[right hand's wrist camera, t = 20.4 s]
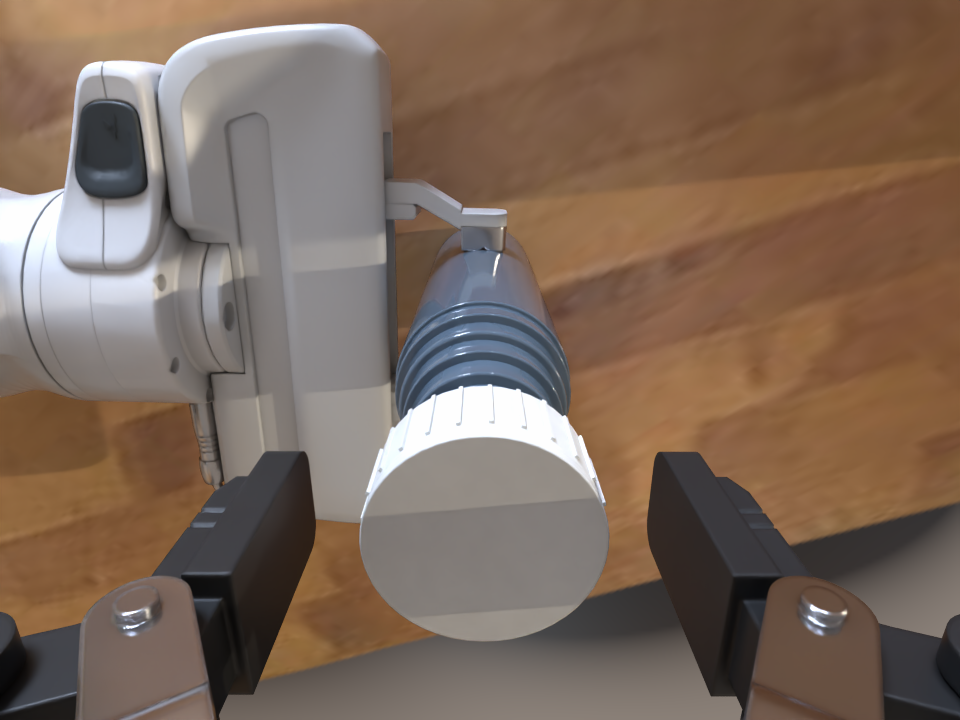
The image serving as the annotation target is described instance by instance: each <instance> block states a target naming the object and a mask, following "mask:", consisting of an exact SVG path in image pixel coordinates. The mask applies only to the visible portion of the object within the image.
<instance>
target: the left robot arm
mask: <svg viewBox="0 0 960 720" xmlns="http://www.w3.org/2000/svg"><path fill="white" fill-rule="evenodd" d="M421 207H422V208H424V209H426V210H427V211H429V212H431V213H432V214H434V215H436V216H438V217H439V218H441V219H443V220H444V221H446V222H448V223H449V224H451V225H453V226H454V227H456V228H458V229H459V230H460V229H461V251H477V250H480V249H482V248H483V247H484V248H485V249H487V250H488V251H494V252H497V251H505V245H506V229H507V211H506V210H502V209H487V208H462V204H460V203H459V202H457V201H456V200H454V199H452V198H451V197H449V196H448V195H446V194H444V193H443V192H441V191H440V190H438V189H437V188H435V187H433V186H432V185H430V184H429V183H427V182H425V181H424V180H422V179H405V178H394V169H393V130H392V92H391V64H390V60H389V58H388V56H387V55H386V53H385V52H384V51H383V50H382V49H381V47H380V46H379V45H378V44H377V43H376V42H375V41H374V40H373V39H372V38H371V37H370V36H369V35H368V34H366V33H365V32H364V31H362V30H361V29H359V28H356V27H354V26H350V25H344V24H296V25H281V26H270V27H260V28H252V29H245V30H238V31H231V32H225V33H220V34H215V35H210V36H206V37H203V38H200V39H197V40H195V41H192V42H190V43H188V44H186V45H185V46H183V47H182V48H180V49H179V50H178V51H176V52H175V53H174V54H173V55H172V57H171V58H170V59H169V60H168V62H167V63H166V65H160V64H155V63H148V62H138V61H105V62H95V63H91V64H89V65H87V66H86V67H84V69H83V70H82V71H81V73H80V76H79V78H78V82H77V87H76V94H75V104H74V116H73V126H72V137H71V146H70V154H69V162H68V169H67V176H66V182H65V188H64V189H59V190H55V191H52V192H48V193H44V194H38V195H26V194H20V193H17V192H14V191H11V190H8V189H4V188H1V187H0V397H6V396H11V395H15V394H19V393H23V392H27V391H32V390H45V391H49V392H53V393H56V394H59V395H62V396H65V397H68V398H72V399H78V400H87V401H119V402H165V403H189V407H190V412H191V418H192V424H193V429H194V433H195V436H196V439H197V442H198V446H199V451H200V457H199V466H200V471H201V475H202V477H203V480H204V482H205V483H206V484H208V485H213V487H214V489H215V491H216V490H217V489H219V488H220V487H222V486H223V484H222V482H223V481H224V482H225V484H226V483H227V482H229V481H230V480H232V479H233V478H235V477H236V476H248V475H249V474H250V472H251V471H252V469H253V468H254V466H255V465H256V463H257V462H258V461H259V459H260V458H261V456H262V455H263V453H264V452H266V451H305V452H306V454H307V456H308V460H309V466H310V475H311V483H312V491H313V500H314V508H315V517H316V519H318V520H326V521H336V522H346V523H361V521H360V519H361V515H362V511H363V508H364V505H365V502H366V499H367V496H366V495H365V494H366V491H367V488H368V485H369V481H370V478H371V475H372V472H373V469H374V466H375V463H376V460H377V457H378V453H379V450H380V449H384V446H385V444H386V442H387V439H388V436H389V433H390V430H391V428H392V427H394V428H395V427H396V426H397V425H398V423H399V422H400V418H399V416H398V412H397V407H396V401H395V386H396V381H395V380H396V369H397V365H398V322H397V284H396V245H395V220H413V219H414V218H415V217H416V216H417V215H418V214H419V213H420V211H421Z"/></svg>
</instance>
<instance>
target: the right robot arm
mask: <svg viewBox="0 0 960 720" xmlns="http://www.w3.org/2000/svg"><path fill="white" fill-rule="evenodd" d="M315 531H316V517H315V508H314V500H313V491H312V483H311V475H310V466H309V460H308V456H307V454H306V452H305V451H266V452H264V453H263V455H262V456H261V458H260V459H259V461H258V462H257V463H256V465H255V466H254V468H253V469H252V471H251V472H250V474H249V475H248V476H236V477H235V478H233V479H232V480H230V481H229V482H227V483H226V484H225V485H223V486H222V487H220V488H219V489H217V490H216V491H214V493H213V494H212V496H211V497H210V498H209V500H208V501H207V502H206V504H205V505H204V506H203V508H202V509H201V513H198V514H197V516H196V517H195V518H194V520H193V521H192V522H191V524H190V528H187V529H186V530H185V532H184V533H183V534H182V536H181V537H180V538H179V540H178V541H177V542H176V544H175V545H174V546H173V548H172V549H171V550H170V552H169V553H168V554H167V556H166V557H165V558H164V560H163V561H162V562H161V564H160V565H159V566H158V568H157V569H156V570H155V572H154V573H153V574H152V576H151V577H146V578H142V579H138V580H135V581H132V582H130V583H127V584H125V585H123V586H120V587H118V588H116V589H115V590H113V591H111V592H109V593H108V594H107V595H105V596H104V597H102V598H101V599H100V600H99V601H97V602H96V603H95V604H94V605H93V606H92V607H91V608H90V609H89V611H88V612H87V614H86V615H85V616H84V618H83V621H82V623H80V624H76V625H72V626H68V627H63V628H59V629H54V630H50V631H46V632H41V633H37V634H33V635H28V636H24V637H20V634H19V632H18V629H17V626H16V623H15V621H14V619H13V618H12V617H11V616H10V615H8V614H6V613H3V612H0V720H220V718H219V713H220V711H221V709H222V707H223V705H224V702H225V700H226V698H227V696H228V694H236V695H237V694H239V695H241V694H246V695H248V694H249V695H250V694H254V691H255V689H256V687H257V684H258V682H259V679H260V677H261V674H262V672H263V669H264V667H265V664H266V662H267V659H268V657H269V655H270V652H271V650H272V647H273V645H274V642H275V640H276V637H277V635H278V632H279V630H280V627H281V625H282V623H283V620H284V618H285V615H286V613H287V610H288V608H289V605H290V603H291V600H292V598H293V595H294V593H295V591H296V588H297V586H298V583H299V581H300V578H301V576H302V573H303V571H304V568H305V566H306V563H307V561H308V559H309V556H310V554H311V551H312V548H313V544H314V539H315ZM647 533H648V541H649V546H650V549H651V552H652V555H653V557H654V559H655V562H656V564H657V567H658V569H659V572H660V574H661V576H662V579H663V581H664V584H665V586H666V589H667V591H668V593H669V596H670V598H671V601H672V603H673V605H674V608H675V610H676V613H677V615H678V618H679V620H680V622H681V625H682V627H683V630H684V632H685V635H686V637H687V639H688V642H689V644H690V647H691V649H692V652H693V654H694V656H695V659H696V661H697V664H698V666H699V668H700V671H701V673H702V676H703V678H704V681H705V683H706V685H707V688H708V690H709V693H710V695H711V696H737V699H738V701H739V703H740V705H741V707H742V714H741V719H740V720H960V615H957V616H954V617H953V618H951V619H950V620H949V622H948V623H947V626H946V629H945V632H944V634H943V637H942V638H938V637H934V636H929V635H925V634H920V633H916V632H912V631H907V630H903V629H899V628H894V627H890V626H887V625H883V624H879V623H878V621H877V619H876V616H875V615H874V614H873V612H872V611H871V610H870V608H869V607H868V606H867V605H866V604H865V603H864V602H863V601H861V600H860V599H859V598H858V597H856V596H855V595H853V594H852V593H851V592H849V591H847V590H845V589H844V588H842V587H840V586H837V585H835V584H833V583H830V582H828V581H825V580H821V579H818V578H814V577H813V576H812V575H811V574H810V572H809V571H808V570H807V568H806V567H805V566H804V564H803V563H802V562H801V560H800V559H799V558H798V556H797V555H796V554H795V553H794V551H793V550H792V549H791V547H790V546H789V545H788V543H787V542H786V541H785V539H784V538H783V537H782V535H781V534H780V533H779V531H778V530H777V529H774V525H773V523H772V522H771V521H770V519H769V518H768V517H767V515H766V514H763V512H762V509H761V508H760V506H759V505H758V504H757V502H756V501H755V500H754V498H753V497H752V496H751V494H750V493H749V492H748V491H746V490H745V489H743V488H742V487H741V486H739V485H738V484H736V483H735V482H733V481H732V480H730V479H729V478H727V477H715V475H714V474H713V472H712V471H711V469H710V468H709V467H708V465H707V464H706V462H705V461H704V459H703V458H702V456H701V455H700V454H699V453H698V452H658V453H657V455H656V457H655V461H654V467H653V476H652V484H651V492H650V500H649V509H648V517H647Z"/></svg>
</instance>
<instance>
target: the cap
mask: <svg viewBox="0 0 960 720" xmlns="http://www.w3.org/2000/svg"><path fill="white" fill-rule="evenodd" d="M365 495H366V496H367V499H366V502H365V505H364V508H363V511H362V515H361V519H360V521H361V525H360V542H359V543H360V550H361V557H362V560H363V563H364V567H365V570H366V572H367V574H368V576H369V578H370V581H371V583H372V584H373V586H374V587H375V589H376V590H377V592H378V593H379V594H380V596H381V597H382V598H383V599H384V600H385V601H386V602H387V604H388V605H390V606H391V607H392V608H393V609H394V610H395V611H396V612H397V613H399V614H400V615H402V616H403V617H404V618H406V619H407V620H409V621H410V622H412V623H414V624H416V625H418V626H420V627H421V628H423V629H426V630H428V631H431V632H433V633H436V634H439V635H443V636H446V637H450V638H455V639H461V640H467V641H500V640H508V639H514V638H518V637H522V636H526V635H529V634H532V633H535V632H538V631H540V630H542V629H544V628H547V627H549V626H551V625H553V624H554V623H556V622H558V621H559V620H561V619H563V618H564V617H566V616H567V615H568V614H569V613H571V612H572V611H573V610H574V609H576V608H577V607H578V606H579V605H580V604H581V603H582V602H583V601H584V600H585V599H586V597H587V596H588V595H589V593H590V592H591V591H592V589H593V588H594V587H595V585H596V583H597V581H598V579H599V578H600V576H601V574H602V571H603V568H604V565H605V563H606V559H607V554H608V549H609V527H608V520H607V517H606V513H605V509H604V506H606V502H605V499H604V496H603V493H602V490H601V487H600V484H599V482H598V479H597V476H596V473H595V470H594V467H593V464H592V461H591V458H589V456H588V453H587V450H586V447H585V444H584V441H583V438H582V436H581V435H580V436H578V435H577V434H576V432H575V430H574V429H573V427H572V426H571V425H570V424H569V421H568V418H567V417H566V416H565V415H564V416H562V415H560V414H559V413H558V412H557V411H556V410H555V409H553V408H552V407H550V406H549V405H547V402H546V401H545V400H542V401H541V400H539V399H537V398H535V397H533V396H531V395H528V394H525V393H522V392H521V390H520V389H516V390H512V389H507V388H503V387H493V386H492V385H491V384H488V386H473V387H466V388H463V386H460V387H459V389H455V390H452V391H448V392H445V393H442V394H440V395H437V396H436V395H432V397H431V398H430V399H429V400H427V401H425V402H424V403H422V404H420V405H419V406H417V407H416V408H415V409H412V408H411V409H409V410H408V414H407V415H406V416H405V417H404V418H403V419H402V420H401V421H400V422H399V423H398V425H397V426H396V427H395V428H394V427H392V428H391V430H390V433H389V436H388V439H387V442H386V444H385V446H384V449H380V450H379V453H378V457H377V460H376V463H375V466H374V469H373V472H372V475H371V478H370V481H369V485H368V488H367V491H366V494H365Z"/></svg>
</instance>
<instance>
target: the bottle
mask: <svg viewBox="0 0 960 720" xmlns="http://www.w3.org/2000/svg"><path fill="white" fill-rule="evenodd" d="M395 381H396V386H395V401H396V407H397V412H398V416H399V418H400V421H401V420H402V419H403V418H404V417H405V416H406V415H407V414H408V410H409V409H411V408H412V409H415V408H416V407H417V406H419V405H420V404H422V403H424V402H425V401H427V400H429V399H430V398H431V397H432V395H436V396H437V395H440V394H442V393H445V392H448V391H452V390H455V389H459V387H460V386H463V388H466V387H473V386H488V384H491V385H492V386H493V387H503V388H507V389H512V390H516V389H520V390H521V392H522V393H525V394H528V395H531V396H533V397H535V398H537V399H539V400H541V401H542V400H545V401H546V402H547V405H549V406H550V407H552V408H553V409H555V410H556V411H557V412H558V413H559V414H560V415H562V416H564V415H565V416H566V417H567V415H568V411H569V406H570V399H571V388H570V373H569V366H568V362H567V358H566V355H565V353H564V350H563V348H562V345H561V343H560V340H559V337H558V335H557V332H556V330H555V327H554V325H553V322H552V319H551V317H550V314H549V312H548V309H547V307H546V304H545V301H544V299H543V296H542V294H541V291H540V289H539V286H538V283H537V281H536V278H535V276H534V273H533V271H532V268H531V265H530V263H529V260H528V258H527V255H526V253H525V251H524V249H523V247H522V246H521V245H520V243H519V242H518V241H517V240H516V239H515V238H514V237H513V236H511V235H510V234H509V233H507V232H506V245H505V251H497V252H494V251H488V250H487V249H485V248H484V247H483V248H482V249H480V250H477V251H461V230H460V231H458V232H456V233H455V234H453V235H452V236H451V237H450V238H448V239H447V240H446V242H445V243H444V244H443V245H442V247H441V248H440V250H439V252H438V254H437V256H436V259H435V262H434V265H433V267H432V270H431V273H430V275H429V278H428V281H427V284H426V286H425V289H424V292H423V295H422V297H421V300H420V303H419V305H418V308H417V311H416V314H415V316H414V319H413V322H412V325H411V327H410V330H409V333H408V336H407V338H406V341H405V344H404V346H403V349H402V352H401V355H400V357H399V360H398V365H397V369H396V380H395Z"/></svg>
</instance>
